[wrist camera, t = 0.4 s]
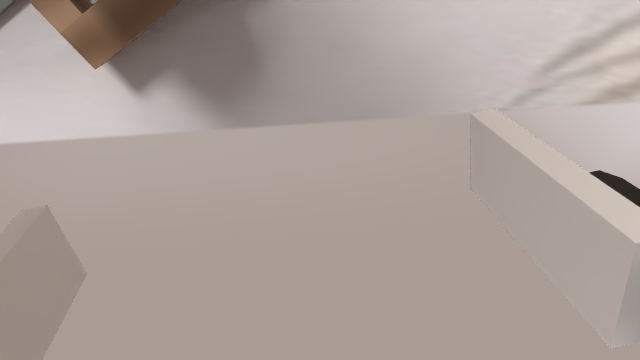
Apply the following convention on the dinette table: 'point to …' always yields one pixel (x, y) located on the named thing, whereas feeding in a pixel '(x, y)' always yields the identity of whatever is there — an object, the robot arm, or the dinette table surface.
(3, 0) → the mat
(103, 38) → the wooden holder frame
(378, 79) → the dinette table surface
